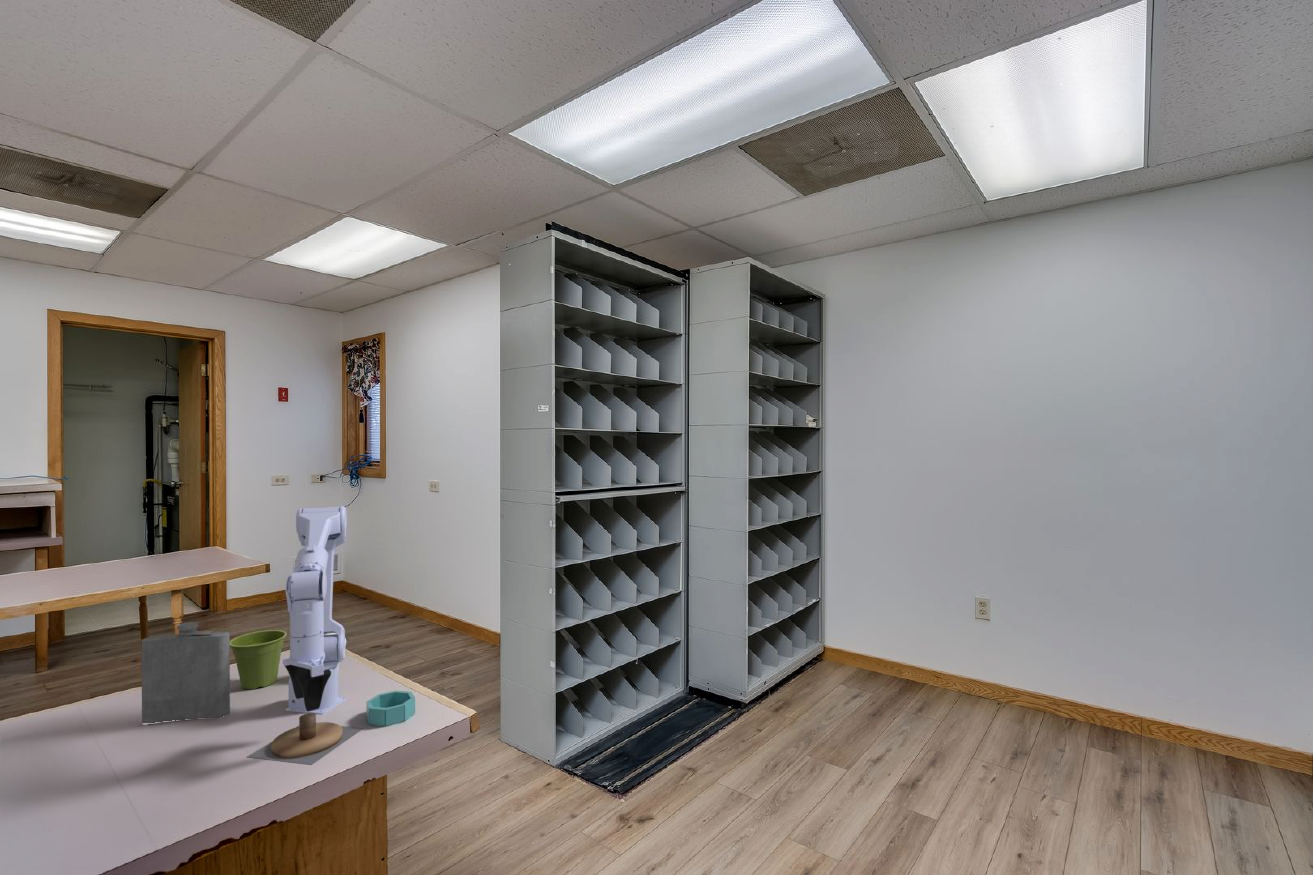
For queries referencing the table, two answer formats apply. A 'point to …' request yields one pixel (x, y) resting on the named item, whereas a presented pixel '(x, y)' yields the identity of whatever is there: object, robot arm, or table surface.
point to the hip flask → (185, 675)
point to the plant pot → (258, 657)
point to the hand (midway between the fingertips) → (307, 703)
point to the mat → (311, 759)
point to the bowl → (390, 708)
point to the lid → (306, 738)
